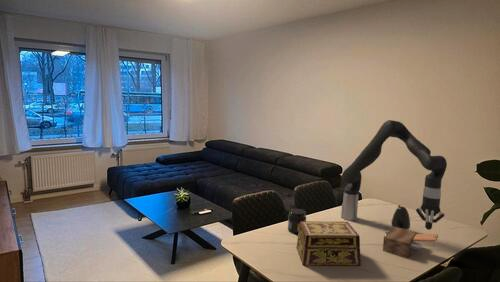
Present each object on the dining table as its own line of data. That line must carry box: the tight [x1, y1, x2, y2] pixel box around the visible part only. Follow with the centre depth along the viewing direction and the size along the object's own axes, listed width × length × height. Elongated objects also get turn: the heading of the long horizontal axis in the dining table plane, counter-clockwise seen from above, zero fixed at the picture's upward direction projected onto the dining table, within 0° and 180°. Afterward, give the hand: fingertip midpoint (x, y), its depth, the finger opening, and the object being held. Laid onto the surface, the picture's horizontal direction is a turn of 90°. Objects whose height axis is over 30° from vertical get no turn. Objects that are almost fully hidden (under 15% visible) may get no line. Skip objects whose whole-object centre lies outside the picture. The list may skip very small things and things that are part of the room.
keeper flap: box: [413, 233, 439, 243], centre depth 160 cm, size 1×8×10 cm
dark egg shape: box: [390, 205, 411, 230], centre depth 189 cm, size 10×10×15 cm
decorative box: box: [296, 220, 362, 267], centre depth 157 cm, size 28×19×15 cm
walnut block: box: [382, 226, 417, 259], centre depth 168 cm, size 12×18×8 cm
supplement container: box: [287, 208, 307, 235], centre depth 187 cm, size 10×10×12 cm
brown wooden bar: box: [383, 231, 422, 251], centre depth 167 cm, size 17×6×6 cm, turn 52°
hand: (428, 229), depth 159 cm, fingers closed
